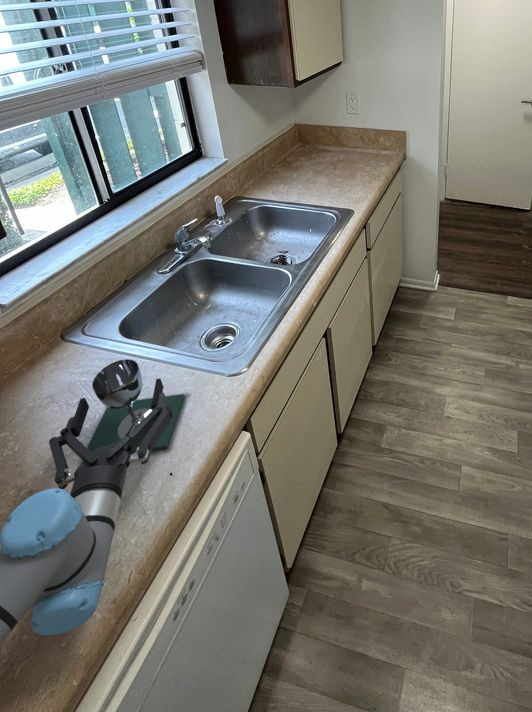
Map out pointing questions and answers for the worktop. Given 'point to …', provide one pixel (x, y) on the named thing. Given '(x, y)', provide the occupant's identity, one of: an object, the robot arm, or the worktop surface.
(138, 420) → the wine glass
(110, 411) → the mat
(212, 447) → the worktop surface
